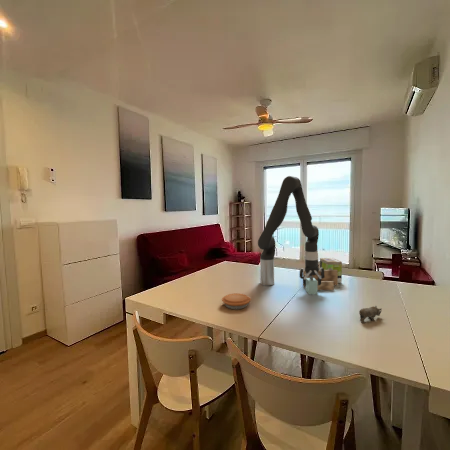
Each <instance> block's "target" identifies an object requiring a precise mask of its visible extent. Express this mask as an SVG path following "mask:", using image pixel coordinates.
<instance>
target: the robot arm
mask: <svg viewBox="0 0 450 450" xmlns="http://www.w3.org/2000/svg"><path fill="white" fill-rule="evenodd" d="M291 195H292V196H293V198H294V202H295V209H296V214H297V216H298V219H299V221H300V226H301V231H302V233H303V236H305V238H306V242H305V244H304V246H305V247H304V249H305V251H304V252H305V253H304V265H305V267H304V268H303V267H300V268H299V278H300V279H301V280H302V285H303V284H304V285H305V286H304V287H306V278H307V277H308V276H309V275H310V276H311V275H317V277H318V285H320V284H321V279H322V278H324V277H325V276H324V268H322V267H321V268H320V267H319V253H318V251H319V250H318V249H319V248H318V241H319V236H320V235H319V234H320V233H319V228H318V227H317V226H316V225H314V224H313V223H312V220H313V216H312V214H311V212H310V209H309V206H308V204H307V201H306V199H305V195H304V190H303V186H302V183H301V180H300V178H299V177H297V176H293V175H288V176H286V177H284V179H283V181H282V183H281V185H280V189H279V192H278V195H277V197H276V200H275V203H274V205H273V208H272V209H271V212H270V214H269V217H268V219H267V220H266V221H267V222H266V223H265V226H264V229H263V230H262V232H261V234H260V236H259V238H258V241H257V246H258V248H259V249H260V250H262V252H261V254H260V256H259V257H260V261H259V262H260V264H259V265H260V267H259V268H260V269H259V282H260V285H261V286H274V285H275V255H276V240H275V238H274V236H273V235H274V233H275V232H276V231H277V229H278V228H279V227H280V226H281V225H282V223H283V222H284V219H285V218H286V215H287V212H288V204H289V200H290V197H291ZM319 270H320V271H321V276H320V275H319V274H318V271H319ZM304 271H306V273H305V274H304V276H303V272H304Z"/></svg>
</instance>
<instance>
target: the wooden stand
mask: <svg viewBox="0 0 450 450" xmlns="http://www.w3.org/2000/svg"><path fill="white" fill-rule="evenodd" d="M305 273H306V271H304V272H303V276H304V274H305ZM318 274H319V275H320V276H321V271H320V270H319V271H318ZM312 276H313V278H315V279H316V280H317V291H321V290H322V291H326V290H327V291H328V290H329V291H330V290H332V291H333V290H334V289H335V288H334V287H335V286H338V285H339V283H338V270H324V276H325V277H324V278H322V279H321V284H320V285H318V277H317V275H312ZM307 278H310V275H309V276H308V277H307ZM302 286H304V287H306V286H305V285H304V284H303V283H302Z"/></svg>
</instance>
